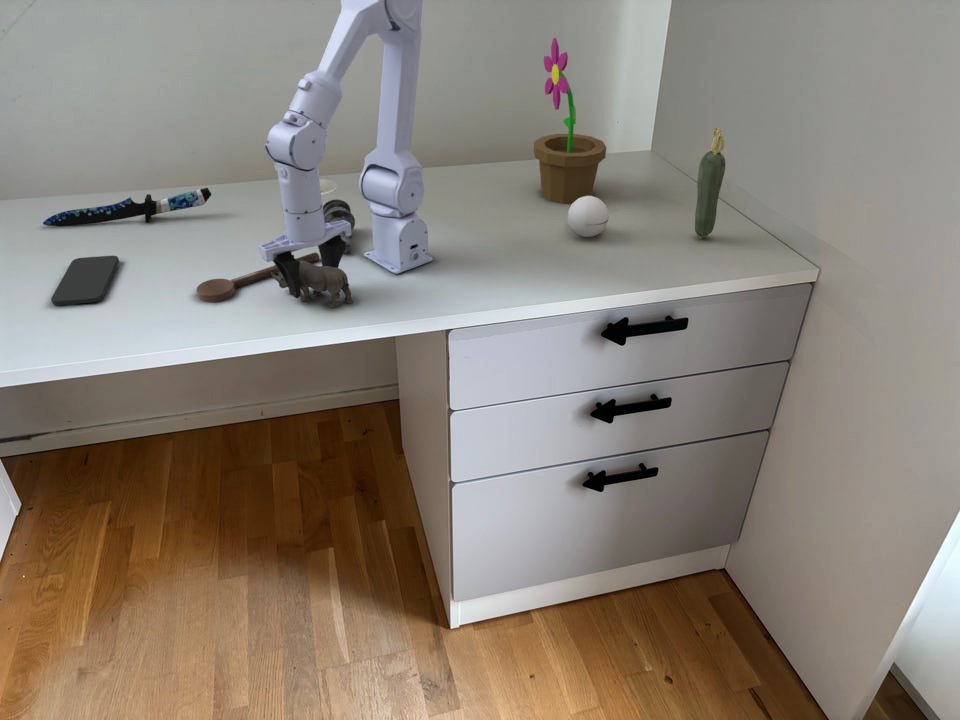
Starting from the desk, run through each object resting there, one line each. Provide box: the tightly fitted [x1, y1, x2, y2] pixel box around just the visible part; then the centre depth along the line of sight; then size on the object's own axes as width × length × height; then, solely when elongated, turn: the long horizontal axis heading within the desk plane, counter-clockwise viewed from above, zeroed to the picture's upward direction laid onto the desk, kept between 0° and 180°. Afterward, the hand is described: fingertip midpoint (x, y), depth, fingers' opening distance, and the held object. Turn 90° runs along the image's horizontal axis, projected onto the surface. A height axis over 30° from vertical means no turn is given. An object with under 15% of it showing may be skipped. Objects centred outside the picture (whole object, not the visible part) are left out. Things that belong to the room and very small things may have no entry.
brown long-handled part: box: [196, 252, 320, 303], centre depth 125 cm, size 22×6×1 cm, turn 132°
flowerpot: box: [533, 37, 607, 204], centre depth 149 cm, size 14×14×30 cm
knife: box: [42, 187, 212, 227], centre depth 143 cm, size 31×3×4 cm, turn 98°
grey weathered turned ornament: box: [322, 198, 356, 254], centre depth 135 cm, size 6×6×12 cm
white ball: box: [567, 195, 617, 238], centre depth 138 cm, size 10×7×7 cm
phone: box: [50, 255, 120, 306], centre depth 123 cm, size 7×1×15 cm
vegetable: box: [694, 127, 726, 240], centre depth 133 cm, size 4×4×20 cm
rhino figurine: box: [271, 261, 354, 308], centre depth 118 cm, size 4×14×6 cm, turn 69°
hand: (313, 288), depth 119 cm, fingers closed on rhino figurine, 5 cm apart
